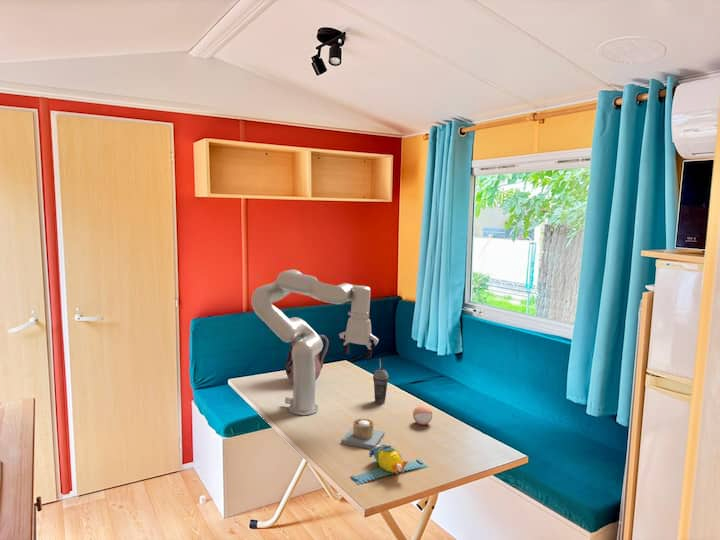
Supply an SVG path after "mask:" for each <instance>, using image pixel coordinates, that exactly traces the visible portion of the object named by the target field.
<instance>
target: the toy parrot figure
mask: <svg viewBox="0 0 720 540" xmlns="http://www.w3.org/2000/svg"><path fill="white" fill-rule="evenodd" d="M368 457H369V458H372V457H374V458H375V460H376V461H377V466H378V467H379V468H376V469H373V470H369V471H366V472H363V473H360V474H357V475H350V476H349V478H350V479H353V482H354V483H355V484H356V485H357V486H360V485H363V484H365V483H368V481H369V482H371V481H372V480H376V479H379V478H384V477H387V476H390V475H393V474H394V473H395V474H396V475H399V473H402V474H404V472H406V471H409V470H410V471H411V470H415V469H423V468H428V467H429V465H427V464H426V463H424V461H423V460H421V459H416V460H415V461H409V460H407V461H406V460H403V458H402V456H401V454H400V453H399V451H398V450H397V449H396V447H395V446H392V445H387V444H383V443H382V444H376V445H375V447H374V448H373V449H370V450H369V453H368Z"/></svg>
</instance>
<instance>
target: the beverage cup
mask: <svg viewBox="0 0 720 540" xmlns="http://www.w3.org/2000/svg"><path fill="white" fill-rule="evenodd" d="M372 379H373V389H374V392H373V393H374V403H375V404H377V405H384V404H385V403H386V398H387V397H386V396H387V389H388V384H389V379H390V377H389V374H388V372H387V371H386V370H385V369H383V368H382V361H381V358H379V368H378V369H376V370H375V371H374V373H373V375H372ZM383 403H384V404H383Z"/></svg>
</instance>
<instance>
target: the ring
mask: <svg viewBox="0 0 720 540" xmlns="http://www.w3.org/2000/svg"><path fill="white" fill-rule="evenodd" d="M362 420H365V421H368V422H370V425H368V426H359V425H358V422H359V421H362ZM352 423H353V424H352V427H353V436H354V437H355V438H357V439H361V440H367V439H370V438H372V437H373V430H374V422H373V420H371V419H369V418H368V419H367V418H358V419H355V420H354V421H353V422H352Z"/></svg>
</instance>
